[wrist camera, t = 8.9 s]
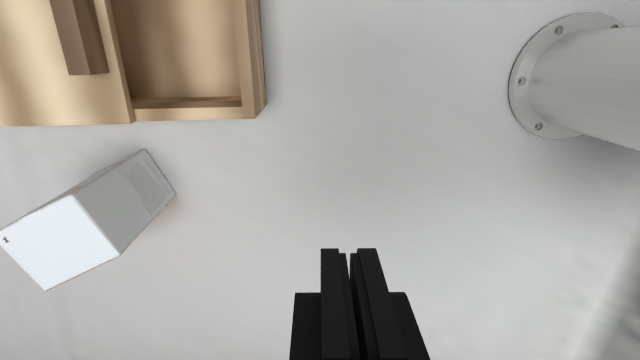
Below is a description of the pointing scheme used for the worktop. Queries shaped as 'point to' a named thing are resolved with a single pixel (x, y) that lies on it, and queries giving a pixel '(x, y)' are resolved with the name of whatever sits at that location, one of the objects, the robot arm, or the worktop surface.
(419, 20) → the worktop surface
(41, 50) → the mailer lid
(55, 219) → the small box
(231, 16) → the mailer box
